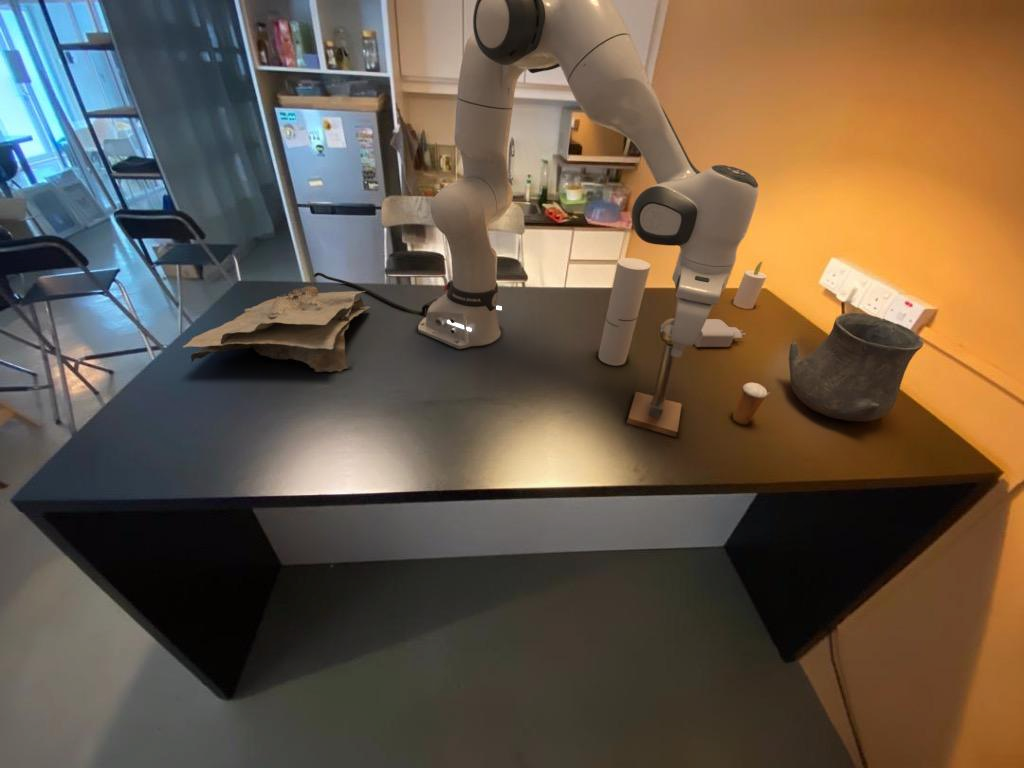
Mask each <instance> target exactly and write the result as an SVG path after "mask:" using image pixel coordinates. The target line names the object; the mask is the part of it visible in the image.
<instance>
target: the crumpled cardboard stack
mask: <svg viewBox="0 0 1024 768" xmlns="http://www.w3.org/2000/svg"><path fill="white" fill-rule="evenodd" d="M362 293H366V292H365V291H362V290H360V291H353V290H350V291H330V292H319V291H318V287H315V286H311V285H307V286H305V287H303V288H301V289H300V288H296V289H295V288H294V289H292V291H290V292H289V293H287V295H286V293H284V294H283V295H282V293H281V294H280V296H279V295H278V296H277V297H275V298H271V299H268V300H265V301H262V302H261V303H259V304H257V305H254V306H252V307H249V308H245V309H244V313H241V315H239V316H237V317H235V318H234V319H233V320H229V321H227V322H224V323H223V324H222V325H221V326H217V327H215V328H212V329H209V330H207V331H205V332H203V333H200V334H199V335H195V336H194V337H192V338H191V340H189V341H188V342H187V343H186V344H184V345H183V346H182V348H190V347H194V348H195V347H198V348H201V349H199V350H197V351H196V352H193V353H192V354H191V355H190V359H191V361H190V364H192V363H193V362H194V361H195V359H203V358H205V357H206V356H208V355H211V354H212V353H213V354H215V355H218V354H222V353H224V352H226V351H232V350H234V351H238V350H241V349H243V350H244V349H246V350H247V349H252V348H253V350H254V352H256V353H258V354H259V356H264V357H265V356H266V357H267V358H270V359H272V360H288V359H289V360H291V359H292V360H295V361H299V362H303V363H305V364H307V365H308V366H309V368H311V369H314V372H317V373H322V372H328V373H333V372H342V371H343V370H345V369H349V365H348V358H347V352H346V339H345V331H346V330H348V329H349V327H350V322H351V321H352V320H353V319H354V318H355V317H358V316H359V315H360V314H362V313H363V312H364V311H366V310H369V308H370V306H365V304H364V302H363V301H364V300H363V298H362V297H361V296H360V297H359V298H358V299H355V298H356V297H355V296H356V295H359V294H362ZM202 347H203V348H202Z"/></svg>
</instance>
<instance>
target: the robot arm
mask: <svg viewBox="0 0 1024 768" xmlns="http://www.w3.org/2000/svg"><path fill="white" fill-rule="evenodd" d="M474 5H475V6H474V9H473V16H472V24H473V25H472V28H473V33H472V34H471V35H470V36H469V38H468V39H467V40H466V43H465V46H464V51H463V55H462V60H461V64H460V69H459V70H460V71H459V76H458V84H457V95H456V109H455V110H456V111H455V124H454V144H455V146H456V148H457V150H458V151H459V153H460V156H461V162H462V171H463V172H462V173H463V174H462V178H461V179H458V180H455V181H452V182H449V183H448V184H446V185H445V186H444V187H442V188H441V189H440V190H439V191H438V192H437V193H436V194H435V195H434V196H433V198H432V200H431V204H430V215H431V218H432V220H433V223H434V225H435V227H436V228H437V229H438V231H440V232H441V233H442V234H443V235H444V236H445V238H446V241H447V244H448V248H449V252H450V257H451V273H452V274H451V276H452V278H451V280H449V281H447V283H446V285H444V286H443V292H446V291H447V292H446V293H445V294H443V295H442V296H440V297H439V298H434V299H432V300H431V301H428V302H427V303H425V304H424V305H422V308H421V311H414V310H412V309H409V308H407V307H406V306H403V305H400V304H398V303H396V302H393V301H391V300H389V299H387V298H385V297H383V296H381V295H379V294H377V293H376V292H373V291H372V290H369V289H367V288H365V287H363V286H361V285H358V284H356V283H353V282H350V281H347V280H343V279H340V278H336V277H332V276H328V275H326V274H325V273H322V272H315V273H314V274H313V277H314V278H317V277H318V276H319V277H323V278H324V279H326V280H329V281H332V282H336V283H340V284H344V285H347V286H350V287H352V288H356V289H358V290H360V291H365V292H364V293H367V294H369V295H371V296H373V297H374V298H377V299H379V300H380V301H382V302H384V303H386V304H389V305H390V306H392V307H394V308H397V309H400V310H402V311H405V312H406V313H411V314H415V315H420V316H422V315H424V314H425V315H426V316H425V317H424V318H422V320H420V322H419V323H418V326H417V328H418V329H417V331H418V333H420V334H422V335H425V336H427V337H428V338H429V337H430V338H432V339H434V340H437V341H439V342H441V343H444V344H445V345H448V346H451V347H453V348H454V349H455V348H456V349H458V350H462V349H466V348H470V347H477V346H478V347H479V346H486V345H489V344H492V343H494V342H496V341H497V340H498V339H499V338H500V337H501V335H502V334H501V333H502V332H501V328H500V325H499V319H498V311H502V306H501V305H498V302H499V284H498V283H497V282H498V281H497V279H498V277H497V276H498V274H497V273H498V254H497V251H496V250H495V249H494V248H493V247H492V244H491V240H490V234H489V229H490V226H491V224H493V223H496V222H497V221H498V220H500V219H501V218H502V217H504V215H505V214H506V213H507V212H508V211H509V209H510V207H511V205H512V203H513V198H514V194H513V188H512V185H511V183H510V182H509V172H508V171H509V170H508V147H509V137H510V131H511V124H512V123H511V122H512V116H513V107H514V101H515V91H516V87H517V82H518V80H519V78H520V77H521V75H522V74H523V73H524V72H526V71H527V70H528V72H529V73H530V74H537V73H541V72H546V71H550V70H554V69H557V68H561V70H562V73H563V75H564V77H565V80H566V82H567V84H568V86H569V88H570V91H571V93H572V95H573V97H574V99H575V101H576V103H577V105H578V106H579V107H580V109H581V110H582V112H583V113H584V115H585V116H586V117H587V118H588V119H589V120H590V121H591V122H592V123H593V124H596V125H598V126H601V127H604V128H606V129H609V130H612V131H614V132H616V133H618V134H620V135H622V136H624V137H625V138H627V139H628V140H630V142H632V143H633V144H634V145H635V147H636V149H638V151H639V152H640V154H641V157H642V159H643V160H644V162H645V164H646V165H647V168H648V170H649V171H650V173H651V175H652V177H653V180H654V181H655V182H656V184H654V185H652V186H650V187H648V188H646V189H644V190H643V191H641V192H640V194H639V195H638V196H637V197H636V199H635V201H634V203H633V206H632V208H631V215H630V217H631V225H632V228H633V230H634V232H635V234H636V235H637V237H638V238H639V239H640V240H642V241H643V242H645V243H648V244H651V245H658V246H673V247H674V246H678V247H679V249H680V250H679V253H678V257H677V260H676V263H675V267H674V270H673V273H672V276H671V279H672V281H673V283H674V286H675V297H676V306H675V307H676V308H675V314H674V324H673V329H672V335H671V341H672V342H673V343H674V345H673V348H672V351H671V355H672V356H673V357H674V358H678V359H680V358H681V357H682V355H683V352H684V350H685V348H686V347H690V348H691V347H692V346H694V345H695V344H694V343H695V342H696V340H697V338H698V336H699V334H700V332H701V330H702V328H703V326H704V323H705V321H706V319H708V317H709V315H710V313H711V310H712V307H713V306H717V305H718V303H719V301H720V298H721V297H722V296H721V295H722V293H723V291H725V290H726V289H727V285H728V283H729V280H730V278H731V275H732V272H733V269H734V266H735V264H736V262H737V252H738V249H739V247H740V244H741V243H742V241H743V240H744V239H745V237H746V235H747V232H748V230H749V228H750V225H751V221H752V219H753V215H754V212H755V209H756V205H757V201H758V195H759V184H758V182H757V179H756V178H755V177H754V176H753V175H751V174H750V173H749V172H747V171H745V170H743V169H742V168H741V169H740V168H737V167H734V166H730V165H729V166H728V165H726V164H725V165H724V164H715V165H712V166H710V167H709V168H707V169H705V170H702V171H699V169H697V168H696V167H695V165H694V164H693V162H692V161H691V160H690V158H689V156H688V154H687V152H686V150H685V147H684V146H683V144H682V142H681V140H680V138H679V136H678V134H677V132H676V130H675V128H674V126H673V124H672V122H671V120H670V118H669V117H668V115H667V113H666V111H665V109H664V108H663V105H661V102H660V100H659V98H658V95H657V93H656V91H655V89H654V88H653V85H652V83H651V81H650V78H649V76H648V73H647V71H646V69H645V67H644V64H643V62H642V59H641V57H640V55H639V52H638V50H637V48H636V45H635V43H634V41H633V38H632V36H631V33H630V31H629V29H628V27H627V25H626V23H625V21H624V19H623V17H622V15H621V13H620V11H619V10H618V9H617V7H616V5H615V3H614V2H613V1H612V0H476V2H475V4H474Z"/></svg>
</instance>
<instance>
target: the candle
mask: <svg viewBox="0 0 1024 768" xmlns="http://www.w3.org/2000/svg"><path fill="white" fill-rule="evenodd" d="M762 264H763V261H762V260H761V261H759V262H758V264H757V265H756V267H755V269H754V270H751V269H749V270H745V271H744V274H743V275H742V278H741V281H740V283H739V285H738V289H737V291H736V294H735V296H734V299H733V301H732V304H733V305H734V306H736V307H738V308H740V309H744V310H752V309H754V306H755V304H756V302H757V300H758V298H759V295H760V293H761V291H762V288H763V286H764V283H765V281H766V279H767V275H766V274H765V273H763V272H761V271H760V269H761V267H762Z"/></svg>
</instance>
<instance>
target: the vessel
mask: <svg viewBox="0 0 1024 768" xmlns="http://www.w3.org/2000/svg"><path fill="white" fill-rule="evenodd" d="M924 345H925V343H924V341H923V338H922V337H921V336H920V335H918V334H917V333H916V332H914V330H911V329H910V328H909V327H907V326H904V325H901V324H899V323H896V322H893V321H890V320H888V319H886V318H881V317H879V316H875V315H872V314H867V313H860V312H845V313H842V314H839V315H837V317H836V318H835V319H834V322H833V325H832V329H831V331H830V333H829V334H828V335H827V336H826V338H825V339H824V340H823V341H822V342H821V343H820V344H819V345H818V346H817V347H815V349H813V350H812V351H811V352H810V353H809V354H807V355H806V356H805V357H803V358H801V357H800V356H799V351H798V344H797V342H796V341H792V342H791V343H790V347H789V355H788V363H789V381H790V384H791V388H792V390H793V393H794V394H795V396H796V397H797V398H798V400H799V401H800V402H801V403H802V404H803V405H805V406H806V407H807V408H809V409H811V410H813V412H816V413H818V414H820V415H823V416H825V417H829V418H832V419H836V420H841V421H845V422H871V421H876V420H878V419H881V418H882V417H884V416H886V415H887V414H888V413H890V412H891V410H892V409H893V408H894V407H895V403H896V401H897V399H898V394H899V393H900V389H901V385H902V382H903V378H904V376H905V372H906V370H907V368H908V366H909V364H910V362H911V360H912V359H913V358H914V356H915V355H916V353H917V352H918V351H919V350H921V349H922V348H923V346H924Z"/></svg>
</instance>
